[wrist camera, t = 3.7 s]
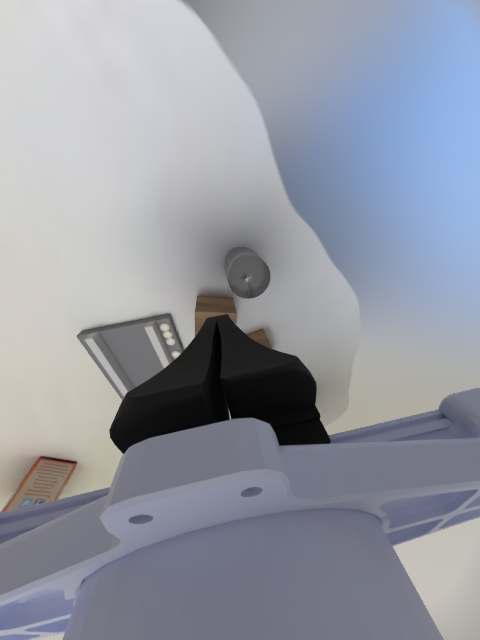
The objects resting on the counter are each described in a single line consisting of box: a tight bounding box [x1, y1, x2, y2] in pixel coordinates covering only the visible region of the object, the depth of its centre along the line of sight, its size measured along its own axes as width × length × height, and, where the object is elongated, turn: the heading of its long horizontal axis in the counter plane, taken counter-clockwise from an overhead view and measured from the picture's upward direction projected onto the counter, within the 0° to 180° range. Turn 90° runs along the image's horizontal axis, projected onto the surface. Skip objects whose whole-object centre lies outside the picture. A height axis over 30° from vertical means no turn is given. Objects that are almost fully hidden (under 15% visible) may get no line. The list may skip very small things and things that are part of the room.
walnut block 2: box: [247, 329, 272, 349], centre depth 24 cm, size 4×4×4 cm
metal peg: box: [224, 247, 270, 298], centre depth 18 cm, size 4×4×5 cm
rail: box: [77, 314, 184, 400], centre depth 25 cm, size 16×10×2 cm, turn 8°
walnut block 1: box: [195, 296, 237, 336], centre depth 21 cm, size 4×4×4 cm
